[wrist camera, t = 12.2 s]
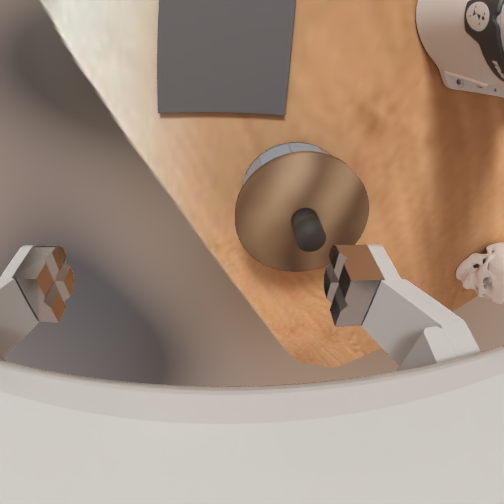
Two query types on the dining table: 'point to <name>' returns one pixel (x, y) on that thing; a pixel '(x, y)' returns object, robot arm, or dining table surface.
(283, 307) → the dining table surface
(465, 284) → the skull bowl
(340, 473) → the robot arm
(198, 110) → the mat
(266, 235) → the lid
